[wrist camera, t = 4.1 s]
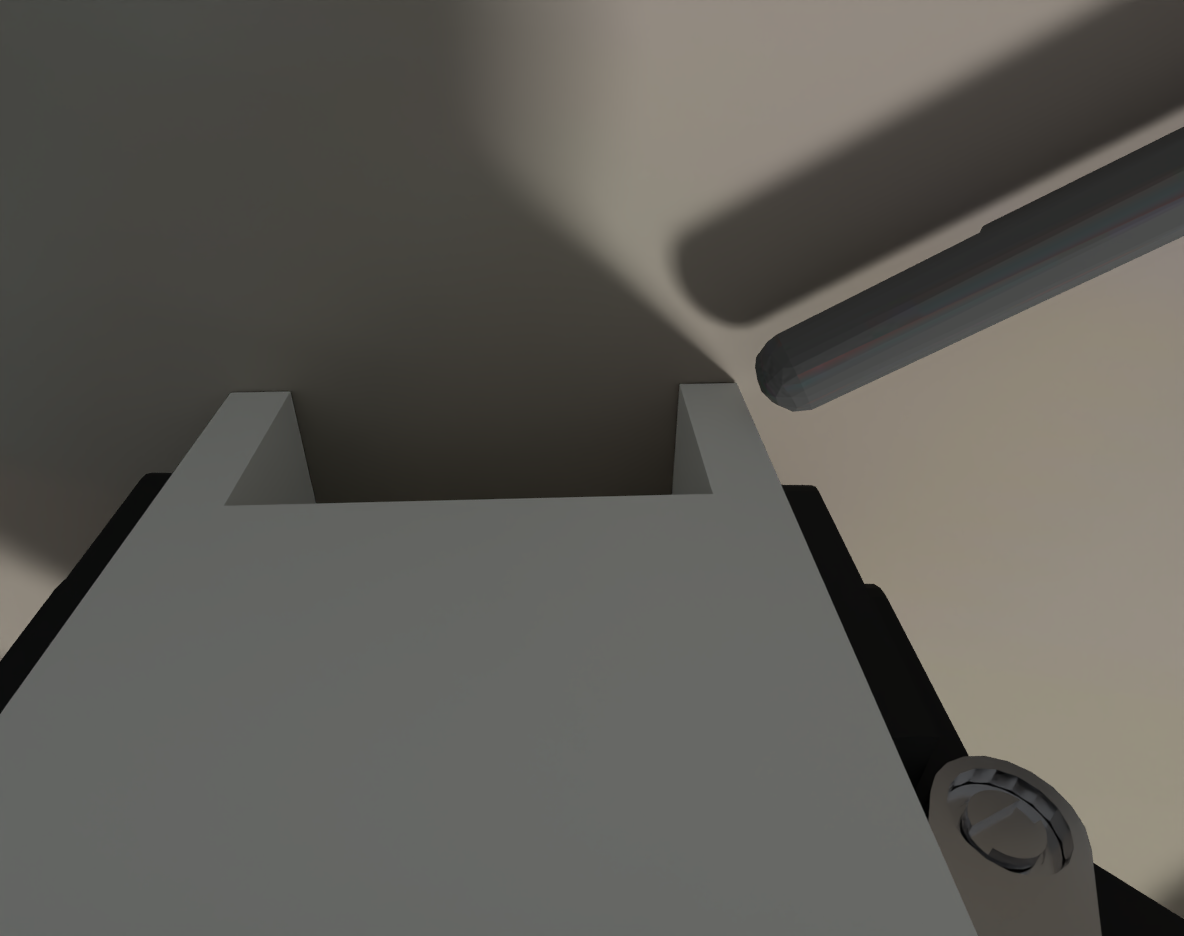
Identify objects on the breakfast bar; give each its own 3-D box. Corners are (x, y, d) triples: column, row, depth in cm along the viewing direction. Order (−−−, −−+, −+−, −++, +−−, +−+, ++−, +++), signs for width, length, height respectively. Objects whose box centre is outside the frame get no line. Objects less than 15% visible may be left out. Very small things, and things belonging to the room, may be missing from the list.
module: (700, 696, 14) (821, 1285, 8) (317, 709, 13) (130, 1330, 7) (736, 383, 10) (997, 978, 4) (229, 392, 10) (-234, 1040, 4)
